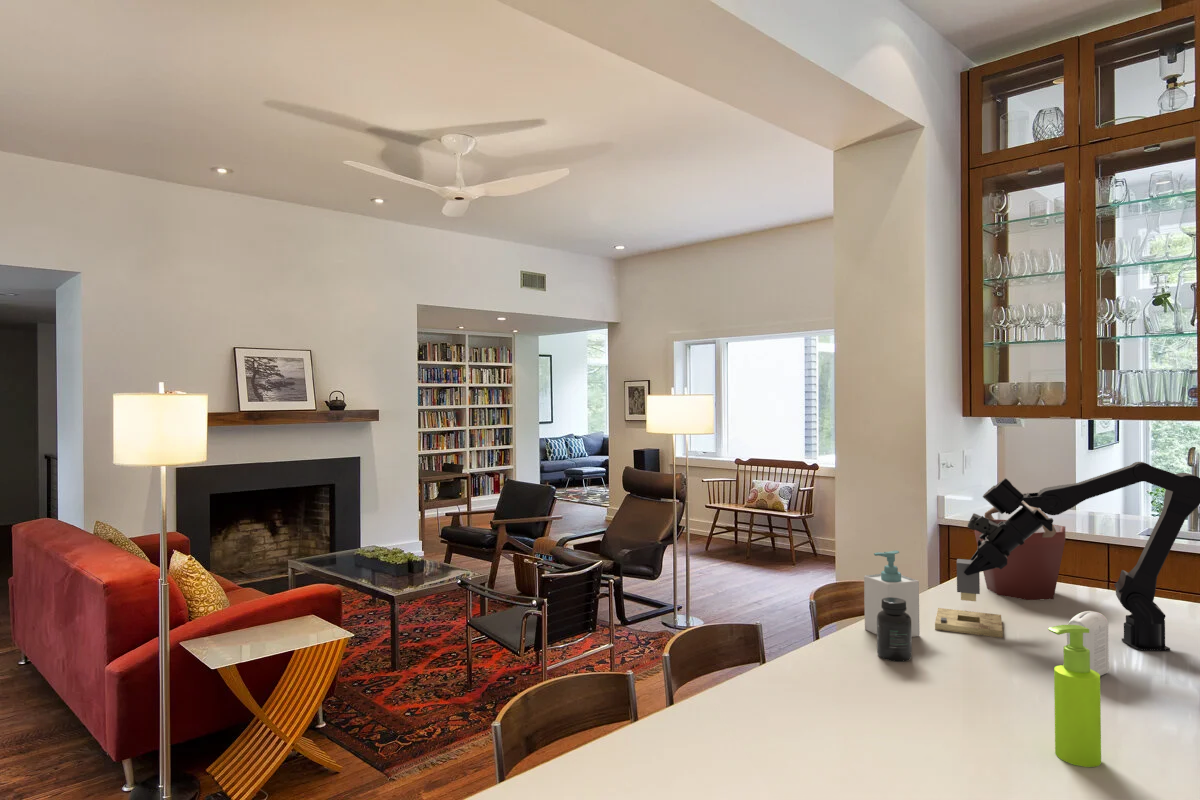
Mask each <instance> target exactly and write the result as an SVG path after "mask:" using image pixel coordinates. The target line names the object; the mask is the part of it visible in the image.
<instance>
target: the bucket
mask: <svg viewBox="0 0 1200 800" xmlns="http://www.w3.org/2000/svg"><path fill="white" fill-rule="evenodd" d="M1022 502H1023V503H1024V504H1025V505H1026V506H1027V507H1028V508H1029V509H1031V510H1032V511H1034V510H1036V509H1037V510H1038V511H1039V512H1040V513H1042V514H1043V515H1044V516H1045V517H1046V518H1049V516H1048V514H1046V513H1044V512H1043V511H1041V509H1040V508H1036V507H1031V506H1029V505H1028V504H1027V503H1025V502H1024V501H1022ZM996 513H1000V512H999V511H998V510H996V509H995V508H994V507H993V506H992V507H991V508H989V509H988V510H986V512H984V514H983V515H984V516H983V517H985V518H988V519H989V520H990V521H992V522H994V523H996V524H999V523H1000V522H1001V521H1002V522H1003V521H1004V522H1005V521H1006V520H1007V519H996V518H994V517H993V515H992V514H996ZM1052 528H1053V531H1049V530H1048V529H1047V528H1046V527H1045V526H1042V527H1041V528H1040V529H1038V530H1037V531H1036V532H1035V533H1033V534H1032V535H1031V536H1030V537H1029V538H1027V539H1026V540H1025V541H1024V542H1025V543H1024V544H1022V545H1019V546H1017V547H1016V548H1015V549H1014V550H1013V551H1011V552H1010V555H1009V556H1008V557H1007V565H1006V566H1005V567H1003V568H1002V569H999V568H994V569H990V570H986V571H982V572H983V576H984V582H985V585H986V589H988V590H990V592H992V593H994V594H995V595H997V596H1001V597H1006V598H1012V599H1013V598H1014V599H1020V600H1025V601H1035V600H1036V601H1037V600H1039V601H1041V600H1040V599H1044V600H1054V599H1055V593H1056V589H1057V583H1058V578H1059V573H1060V569H1061V563H1062V558H1063V552H1064V548H1065V543H1066V535H1067V534H1066V526H1065V525H1059V524H1054V523H1052ZM981 534H982V533H981V532H979V531H976V530H974V535H975V541H976V545H977V547H978V539H979V540H980V541H981V542H982V541H983V540H984V539H981V538H979V536H980V535H981Z"/></svg>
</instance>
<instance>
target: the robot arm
mask: <svg viewBox="0 0 1200 800" xmlns="http://www.w3.org/2000/svg"><path fill="white" fill-rule="evenodd" d="M1141 482H1145V483H1149V484H1151V485H1153V486H1155V487H1158V488H1162V489H1165V490H1164V495H1163V505H1162V507H1163V508H1162V511H1161V512H1160V515H1159V517H1158V519H1157V521H1156V523H1155V525H1154V527H1153V529H1152V532H1151V534H1150V535H1149V537H1148V540H1147V542H1146V543H1145V546H1144V548H1143V549H1142V552H1141V554H1140V556H1139V558H1138V560H1137V562H1136V565H1135V566H1134V567H1133V568H1131V570H1130V571H1129V572H1127V571H1126V570H1124V569H1121V571H1120V574H1119V577H1118V580H1117V581H1116V582H1115V583H1114V584H1113V585H1114V587H1115V588H1116V589H1115V595H1116V597H1117V599H1118V601H1119V602H1120V604H1121V606H1122V608H1124V609H1125V610H1126V611H1128V612H1129V613H1130V614H1127V615H1125V622H1124V623H1123V637H1122V638H1121V641H1122V642H1123V643H1125V644H1127V645H1129V646H1131V647H1133V648H1135V649H1137V650H1138V651H1162V652H1163V651H1168V652H1169V651H1171V647H1169V646H1166V616H1167V615H1166V614H1165V613H1164V611H1163V610H1162V609H1161V608H1160V606H1159V605H1157V603H1155V602H1154V599H1155V595H1156V593H1157V592H1156V591H1157V590H1156V589H1157V580H1158V576H1159V574H1160V572H1161V570H1162V568H1163V566H1164V564H1165V562H1166V559H1167V558H1168V556H1169V553H1170V551H1171V549H1172V548H1173V545H1174V543H1175V541H1176V539H1177V537H1178V535H1179V533H1180V530H1181V529H1182V527H1183V525H1184V523H1185V521H1186V519H1187V518H1188V517H1189V516H1190V515H1191V514H1192V513H1193V512H1194V511H1195V510H1196V509H1197V508H1198V507H1199V506H1200V477H1199V476H1197V475H1195V474H1191V473H1188V472H1178V473H1174V472H1171V471H1168V470H1165V469H1161V468H1159V467H1155V466H1152V465H1150V464H1149V463H1146V462H1144V461H1135V462H1134V463H1132V464H1130V465H1127V466H1124V467H1122V468H1121V467H1120V468H1117V469H1115V470H1113V471H1109V472H1106V473H1102V474H1100V475H1096V476H1093V477H1092V478H1091V477H1090V478H1087V479H1085V480H1082V481H1079V482H1075V483H1068V484H1061V485H1060V484H1059V485H1053V486H1048V487H1044V488H1042V489H1040V490H1039V491H1038V492H1027V493H1022V492H1021V491H1020V490H1019V489H1017V487H1016V486H1014V485H1013V484H1012V482H1011V481H1010V480H1009V479H1008V478H1006V477H1004V478H1003V479H1002V480H1001V481H1000V482H998V483H997V484H995V485H993V486H991V488H989V489H988V490H987V491H985V493H984V494H983V495H982V498H983V499H984V500H985V501H986V502H987V503H989V505H991V506H992V508H993V507H994V508H995V509H996V510H998V511H999V512H998V513H999V514H1001V515H1003V514H1006V515H1011V514H1013V513H1014V512H1015V511H1016V510H1017V509H1018V508H1020V507H1021V508H1020V509H1018V510H1017V511H1016V512H1015V513H1014V514H1013V515H1011V516H1010V517H1009V518H1007V519H1005V520H1006V521H1005V522H1004V521H1003V522H1002V521H1001V522H1000V523H999V524H996V523H994V522H992V521H990V520H989V519H988V518H985V516H983V515H979V514H977V513H972V516H971V517H970V519H969V521H968V523H967V528H969V529H970V530H974V531H975V530H976V531H979V532H981V533H982V534H981V535H980V536H979V538H981V539H984V540H983V541H982V542H981V541H980V540H979V539H978V546H977V548H976V549H977V550H976V551H975V553H974V554H973V555H972V557H970V559H969V560H973V561H972V562H971V563H970V565H969V566H968V567H967V568H966V570H965V571H964V573H965V574H966V575H971V574H975V573H979V574H980V573H981V572H983V571H986V570H990V569H994V568H999V569H1002V568H1003V567H1005V566H1006V565H1007V557H1008V556H1009V555H1010V552H1011V551H1013V550H1014V549H1015V548H1016V547H1017V546H1019V545H1022V544H1024V543H1025V542H1024V541H1025V540H1026V539H1027V538H1029V537H1030V536H1031V535H1032V534H1033V533H1035V532H1036V531H1037V530H1038V529H1040V528H1041V527H1042V526H1045V527H1046V528H1047V529H1048V530H1049V531H1053V528H1052V524H1054V523H1053V522H1054V519H1053V518H1052V517H1048V518H1046V517H1045V516H1044V515H1043V514H1042V513H1040V512H1039V511H1038V510H1037V509H1036V510H1034V511H1032V510H1031V509H1029V508H1028V507H1027V506H1026V505H1025V504H1024V503H1023V502H1025V503H1027V504H1028V505H1029V506H1031V507H1036V508H1039V509H1040V510H1041V511H1042V512H1044V513H1045V514H1046V515H1049V516H1058V515H1061V514H1062V513H1063V514H1064V513H1065V512H1066V511H1069V510H1071V509H1073V508H1074V507H1076V506H1077V505H1079V504H1081V503H1083V502H1084V501H1086V500H1090V499H1093V498H1095V497H1098V496H1101V495H1104V494H1107V493H1110V492H1113V491H1116V490H1119V489H1123V488H1125V487H1129V486H1133V485H1135V484H1138V483H1141Z"/></svg>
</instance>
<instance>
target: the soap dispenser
mask: <svg viewBox="0 0 1200 800" xmlns="http://www.w3.org/2000/svg"><path fill="white" fill-rule="evenodd" d="M1047 630H1048V631H1049V632H1051V633H1053V634H1056V635H1058V636H1059V635H1064V634H1067V633H1070V644H1068V645H1067V644H1066V645H1064V646H1063V650H1062V651H1063V664H1060V665H1056V666H1054V668H1053V672H1054V673H1053V674H1054V676H1053V683H1054V685H1053V686H1054V688H1053V689H1054V696H1053V697H1054V754H1055V755H1056V757H1058V759H1060V760H1062V761H1064V762H1066V763H1068V764H1071V765H1073V766H1078V767H1085V768H1092V767H1093V768H1095V767H1100V765H1101V764H1102V728H1101V727H1102V723H1101V722H1102V718H1101V715H1102V714H1101V706H1102V705H1101V676H1100V674H1099V673H1097V672H1096V671H1094V670H1091V669H1090V650H1089V649H1087V648H1086V647H1084V646H1083V633H1089V629H1088V628H1085V627H1083V626H1080V625H1068V624H1058V625H1055V626H1052V627H1049V628H1047Z"/></svg>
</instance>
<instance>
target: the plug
mask: <svg viewBox="0 0 1200 800" xmlns="http://www.w3.org/2000/svg"><path fill="white" fill-rule="evenodd" d="M972 561H973V560H970V559H963V558H962V559H961V558H957V559H956V593H960V600H961V601H966V602H967V601H968V602H977V595H980V589H981V588H980V587H981V586H980V585H981V583H980V580H981V579H980V572H979V573H975V574H971V575H966V574H965V573H964V571H965V570H966V568H967V567H968V566H969V565H970V563H971V562H972Z"/></svg>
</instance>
